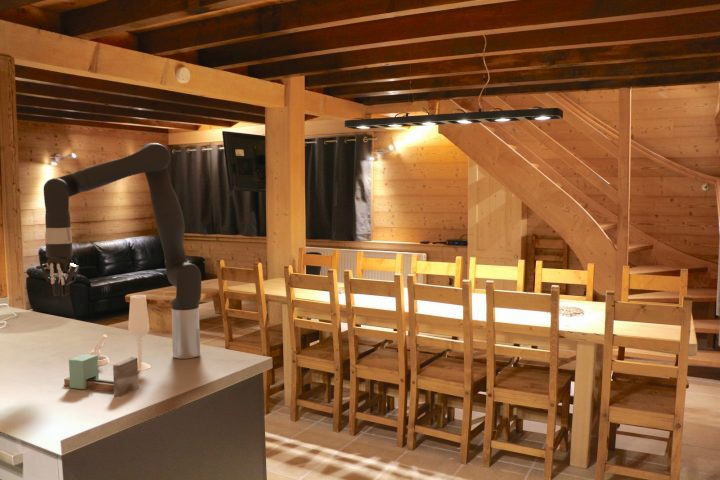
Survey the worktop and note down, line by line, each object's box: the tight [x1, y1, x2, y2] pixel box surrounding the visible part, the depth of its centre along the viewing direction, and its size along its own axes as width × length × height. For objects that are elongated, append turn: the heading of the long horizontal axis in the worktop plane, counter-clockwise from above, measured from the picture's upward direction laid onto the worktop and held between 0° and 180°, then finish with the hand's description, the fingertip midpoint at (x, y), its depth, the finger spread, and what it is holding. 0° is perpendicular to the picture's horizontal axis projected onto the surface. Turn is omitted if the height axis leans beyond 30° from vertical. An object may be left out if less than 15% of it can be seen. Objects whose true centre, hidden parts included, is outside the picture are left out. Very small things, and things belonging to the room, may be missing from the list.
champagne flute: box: [127, 294, 152, 372], centre depth 192 cm, size 7×7×24 cm
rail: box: [64, 356, 139, 397], centre depth 173 cm, size 22×8×9 cm, turn 73°
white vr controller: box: [89, 334, 111, 367], centre depth 198 cm, size 8×12×7 cm
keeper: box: [68, 353, 99, 390], centre depth 175 cm, size 5×6×8 cm
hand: (61, 295), depth 186 cm, fingers closed
